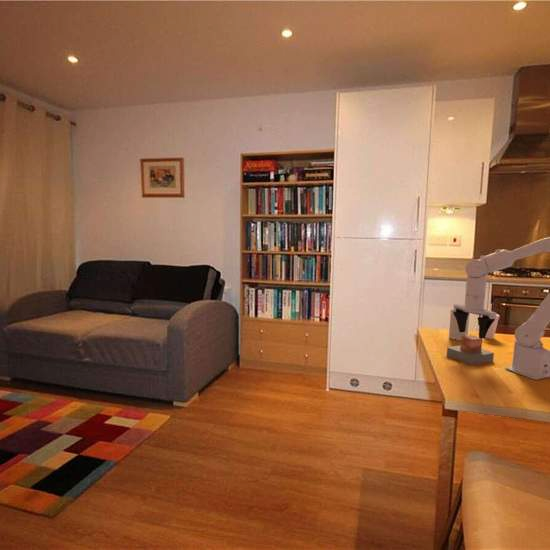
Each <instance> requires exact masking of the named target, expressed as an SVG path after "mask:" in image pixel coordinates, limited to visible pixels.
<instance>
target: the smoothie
mask: <svg viewBox="0 0 550 550" xmlns="http://www.w3.org/2000/svg"><path fill="white" fill-rule="evenodd" d="M492 305H493V303H490V304H489V311H492V307H493V306H492ZM500 317H501V316H500V314H498V313H496V318H495V321H494V322H493V323H492V324H491V326H490V327H489V329H488V331H487V334H486V336H485V338H484V339H490V340H492V339H495V334H496V331H497V326H498V322H499V319H500Z"/></svg>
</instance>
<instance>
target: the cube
mask: <svg viewBox="0 0 550 550" xmlns="http://www.w3.org/2000/svg"><path fill="white" fill-rule="evenodd" d="M482 345H483V338H482V339H481V338H479V336H476V335H472V334H468V335H465V336H461V341H460V349H462V350H465V351H468V352H471V353H474V352H480V351H481V349H482Z"/></svg>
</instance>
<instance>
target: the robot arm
mask: <svg viewBox="0 0 550 550" xmlns="http://www.w3.org/2000/svg"><path fill="white" fill-rule="evenodd" d="M494 251H495V252H493V253H490V254H487V255H480V256H479V258H478V259H474V258H473V259H471V260H470V261H468V262H467V263H466V265H465V273H466V274H467V275H466V276H467V277H466V285H465V299H464V304H460V303H455V304H453V308H452V309H453V310H456V311H455V312H453V314H454V316H455V318H456V320H457V323H458V328H459V332H465V329H466V322H467V318H468V315H469V316H470V314H473V315H475V316H476V315H477V316H479V317H477V321H478V337H479V338H481V339H482V340H483V339H486V338H485V336H486V334H487V331H488V329H489V327H490V326H491V324H492V323H493V322H494V321H495V318H496V314H497V312H495V311H492V310H491V311H490V309H485V298H486V290H487V289H486V288H487V275H488V274H491V273H494V272H498V271H501V270H504V269H507V268H511V267H513V264H514V263H515V261H516V260H520V259H523V258H527V257H529V256H530V257H531V256H533V255H537V254H539V253H542V252H543V253H544V252H546V253H550V236H549V237H545V238H544V237H543V238H541V239H539V240H536V241H533V242H531V243H528V244H526V245H523V246H521V247H519V248H515V249H513V250H509V249H500V248H498V249H495V250H494ZM549 323H550V292H549V293H548V294H547V295H546V297H545V298H544V299H543V300H542V302H541V303H540V304H539V306H538V307H537V308H536V309H535V311H534V312H533V313H532V315H531V316H530V317H529V318H527V321H525V322H523V323H522V324H521V325H520V326H518V327H516V328H515V331H514V334H513V335H514V338H515V340H514V346H513V356H512V363H511V365H510V366H506V367H505V369H506V370H508V371H510V372H513V373H516V374H517V375H518V374H519V375H522V376H524V377H527V378H529V379H532V380H542V379H546V378H550V350H549V349H548V348H545V347H544V344H543V342H542V341H541V339H543V337H544V336H545V333H546V328H547V326H548V325H549Z"/></svg>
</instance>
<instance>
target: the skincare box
mask: <svg viewBox="0 0 550 550" xmlns="http://www.w3.org/2000/svg"><path fill="white" fill-rule="evenodd" d="M455 311H456V310H453V308H451V309H450V319H449V331H448V339H449V338H452V339H451V340H455V339H456V340H457V341H460V340H461V336H465V335H469V323H470V314H469V315H468V318H467V322H466V329H465V332H459V328H458V323H457V320H456V318H455V316H454V314H453V312H455ZM456 340H455V341H456Z"/></svg>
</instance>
